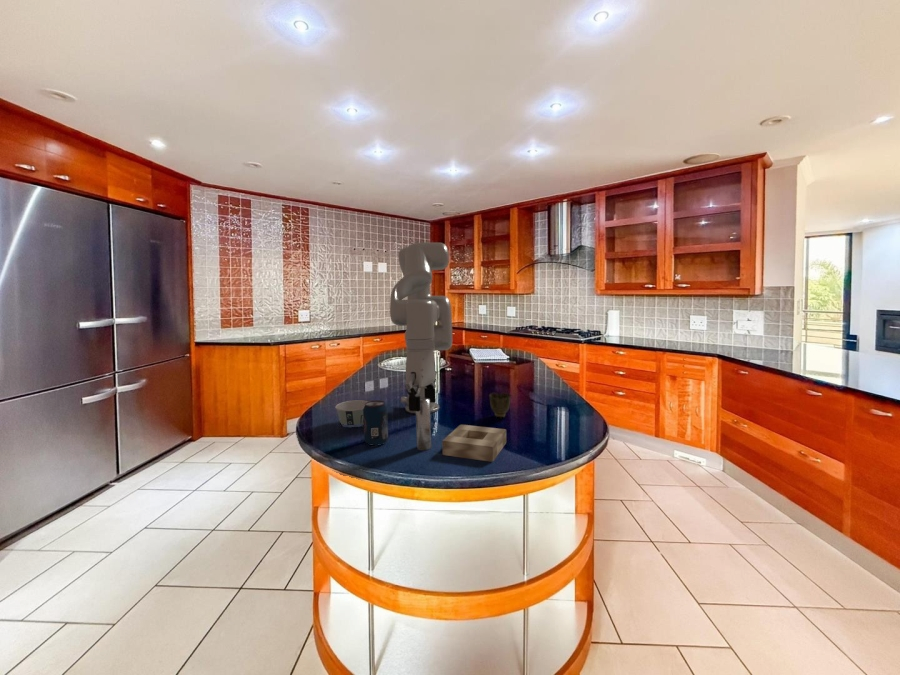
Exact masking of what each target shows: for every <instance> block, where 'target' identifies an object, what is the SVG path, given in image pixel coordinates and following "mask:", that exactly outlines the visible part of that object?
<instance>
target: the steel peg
mask: <svg viewBox="0 0 900 675" xmlns="http://www.w3.org/2000/svg"><path fill="white" fill-rule="evenodd" d="M420 407H421V410H420V411H416V414H415V426H416V427H415V428H416V432H415V433H416V449H417V450H419V451H429V450H431V449H432V433H431V430H432V429H431V428H432V427H431V425H432V424H431V413H430V399H429V398H420Z"/></svg>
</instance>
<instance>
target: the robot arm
mask: <svg viewBox="0 0 900 675" xmlns="http://www.w3.org/2000/svg"><path fill="white" fill-rule="evenodd" d="M398 263H399V267H400V270H401V273H402V275H403V277H402V278H400V279H399V280H398V281H397V282H396V283H395V285H394V286H393V287H392V290H391V293H390V298H389V318H390V320H391V322H392V323H393V324H394V325H395V326H399V327H400V326H406V330H405V333H404V342H405V347H406V358H405V359H406V361H405V382H404V383H405V384H404V385H405V388H406V393H407V396H401V398H400V403H401V404H406V406H405V411H406V412H407V413H409V414H415V415H416V411H420V410H421V407H420V398H429V399H430V414H431V413H436V411H439V410H440V404H438V403H436V401H437V400H436V399H437V398H436V387H437V384H436V383H437V371H436V362H435V361H436V360H435V351H437V352H438V351H448V350H450V349H451V348H452V346H453V321H452V318H453V317H452V305H451V302H450V299H449V297H448V296H445V295H432V294H431V284H432V282H433V273H432V271H443V270H445V269H447V267H448V266H449V263H450V252H449V249H448V247H447V245H446V244H445V243H443V242H415V243H411V244H409V245H408V246H406V247H404V248H401V249H400V250H399V252H398ZM405 298H407V299H405ZM437 322H438V323H439V324H436V323H437Z"/></svg>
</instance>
